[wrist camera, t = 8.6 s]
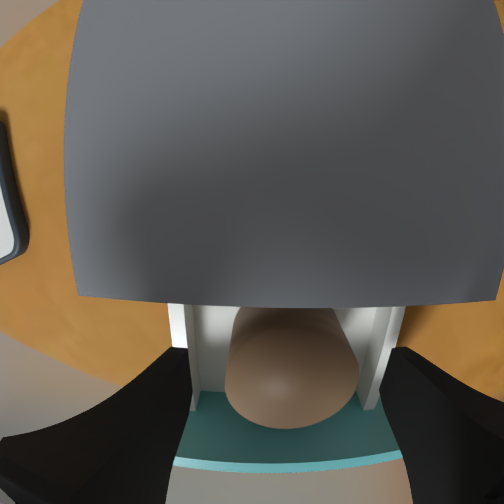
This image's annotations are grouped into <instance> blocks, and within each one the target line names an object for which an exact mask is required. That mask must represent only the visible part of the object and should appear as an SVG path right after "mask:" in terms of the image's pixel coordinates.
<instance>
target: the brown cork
mask: <svg viewBox="0 0 504 504" xmlns="http://www.w3.org/2000/svg"><path fill="white" fill-rule="evenodd" d="M358 381H359V365H358V362H357V359H356V357H355V355H354V352H353V350H352V348H351V346H350V344H349V342H348V340H347V337H346V335H345V333H344V331H343V329H342V327H341V325H340V323H339V321H338V319H337V316H336V314H335V312H334V310H333V309H332V308H263V307H241V308H240V309H239V311H238V313H237V314H236V317H235V319H234V323H233V328H232V335H231V342H230V348H229V355H228V362H227V368H226V375H225V392H226V395H227V398H228V400H229V402H230V404H231V405H232V407H233V408H234V409H235V410H236V411H237V412H238V413H239V414H240V415H242V416H243V417H244V418H246V419H248V420H249V421H251V422H254V423H256V424H259V425H262V426H266V427H270V428H277V429H293V428H301V427H305V426H309V425H313V424H316V423H318V422H321V421H323V420H325V419H327V418H329V417H330V416H332V415H333V414H335V413H336V412H338V411H339V410H340V409H341V408H343V406H344V405H345V404H346V403H347V402H348V401H349V400H350V398H351V397H352V395H353V394H354V392H355V390H356V387H357V385H358Z"/></svg>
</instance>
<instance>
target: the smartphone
mask: <svg viewBox="0 0 504 504" xmlns="http://www.w3.org/2000/svg"><path fill="white" fill-rule="evenodd" d="M28 245H29V231H28V227H27V223H26V220H25V217H24V213H23V210H22V206H21V202H20V198H19V194H18V190H17V186H16V182H15V177H14V173H13V168H12V163H11V158H10V152H9V146H8V140H7V133H6V128H5V125H4V123H3V122H2V121H0V265H1V264H3V263H5V262H7V261H9V260H11V259H14V258H16V257H18V256H20V255H22V254H23V253H25V251H26V250H27V248H28Z"/></svg>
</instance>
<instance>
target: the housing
mask: <svg viewBox="0 0 504 504" xmlns="http://www.w3.org/2000/svg"><path fill="white" fill-rule="evenodd" d="M64 185H65V202H66V215H67V226H68V235H69V243H70V251H71V258H72V264H73V270H74V276H75V282H76V287H77V292H78V295H81V296H90V297H100V298H110V299H121V300H132V301H144V302H158V303H172V304H189V305H208V306H231V307H263V308H368V307H399V306H420V305H438V304H453V303H466V302H479V301H490V300H495V299H496V296H497V292H498V288H499V285H500V281H501V277H502V273H503V268H504V35H503V31H502V27H501V23H500V19H499V16H498V13H497V9H496V6H495V3H494V0H83V3H82V7H81V11H80V15H79V19H78V24H77V28H76V33H75V38H74V44H73V49H72V55H71V62H70V69H69V77H68V85H67V95H66V108H65V125H64Z"/></svg>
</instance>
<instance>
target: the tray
mask: <svg viewBox="0 0 504 504" xmlns="http://www.w3.org/2000/svg"><path fill="white" fill-rule="evenodd" d="M240 308H241V307H231V306H208V305H189V304H172V303H168V311H169V320H170V329H171V337H172V344H173V347H180V348H188V355H189V364H190V372H191V380H192V388H193V394H192V400H191V406H190V411H189V416H188V419H187V422H186V425H185V428H184V432H183V435H182V438H181V441H180V444H179V447H178V450H177V453H176V456H175V459H174V462H173V465H174V466H181V467H189V468H197V469H205V470H215V471H228V472H247V473H292V472H309V471H323V470H333V469H342V468H349V467H357V466H363V465H369V464H375V463H380V462H385V461H390V460H395V459H399V458H403V456H402V454H401V451H400V449H399V446H398V444H397V442H396V439H395V437H394V434H393V432H392V429H391V427H390V425H389V422H388V420H387V417H386V415H385V412H384V409H383V405H382V401H381V397H380V393H379V387H380V384H381V381H382V378H383V375H384V372H385V369H386V366H387V363H388V359H389V356H390V353H391V349H392V348H395V346H396V343H397V339H398V336H399V332H400V328H401V324H402V320H403V316H404V312H405V308H406V306H399V307H368V308H332V309H333V310H334V312H335V314H336V316H337V319H338V321H339V323H340V325H341V327H342V329H343V331H344V333H345V335H346V337H347V340H348V342H349V344H350V346H351V348H352V350H353V352H354V355H355V357H356V359H357V362H358V365H359V381H358V385H357V387H356V390H355V392H354V394H353V395H352V397H351V398H350V400H349V401H348V402H347V403H346V404H345V405H344V406H343V408H341V409H340V410H339V411H338V412H336V413H335V414H333V415H332V416H330V417H329V418H327V419H325V420H323V421H321V422H318V423H316V424H313V425H309V426H305V427H301V428H293V429H277V428H270V427H266V426H262V425H259V424H256V423H254V422H251V421H249V420H248V419H246V418H244V417H243V416H242V415H240V414H239V413H238V412H237V411H236V410H235V409H234V408H233V407H232V405H231V404H230V402H229V400H228V398H227V395H226V392H225V375H226V368H227V362H228V355H229V348H230V342H231V335H232V328H233V323H234V319H235V317H236V314H237V313H238V311H239V309H240Z"/></svg>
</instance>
